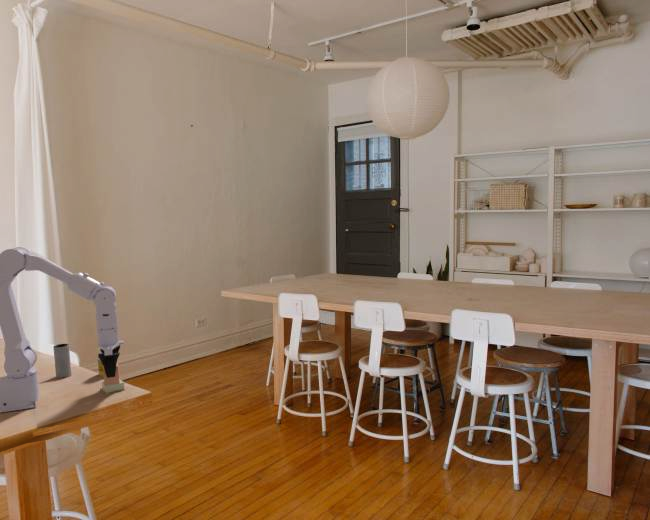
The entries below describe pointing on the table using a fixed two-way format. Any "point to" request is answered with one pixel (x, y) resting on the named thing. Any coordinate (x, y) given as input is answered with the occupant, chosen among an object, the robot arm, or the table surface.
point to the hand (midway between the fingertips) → (111, 373)
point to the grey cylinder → (62, 360)
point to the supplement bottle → (100, 366)
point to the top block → (113, 387)
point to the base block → (109, 392)
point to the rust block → (112, 379)
